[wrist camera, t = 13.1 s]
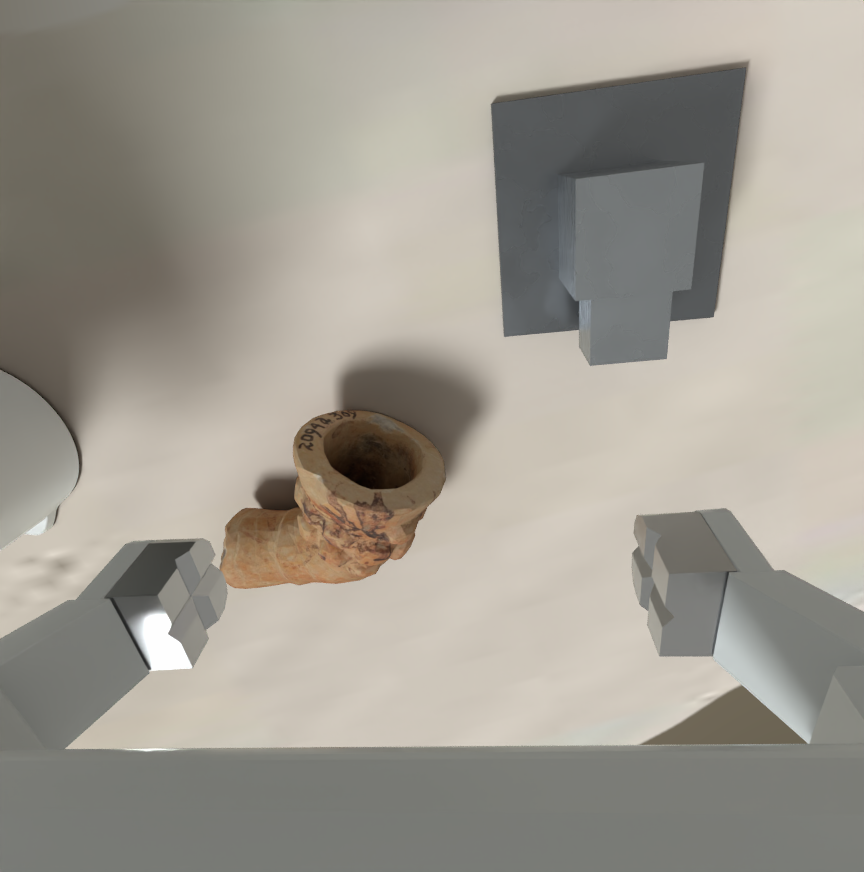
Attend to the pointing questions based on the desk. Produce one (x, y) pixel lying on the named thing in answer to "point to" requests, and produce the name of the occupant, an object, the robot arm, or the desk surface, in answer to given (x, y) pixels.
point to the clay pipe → (338, 504)
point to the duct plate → (599, 149)
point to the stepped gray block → (628, 253)
